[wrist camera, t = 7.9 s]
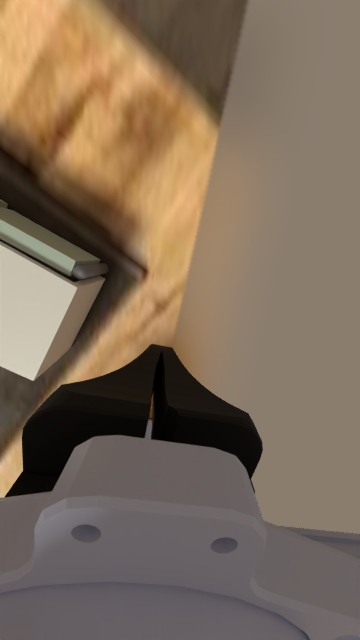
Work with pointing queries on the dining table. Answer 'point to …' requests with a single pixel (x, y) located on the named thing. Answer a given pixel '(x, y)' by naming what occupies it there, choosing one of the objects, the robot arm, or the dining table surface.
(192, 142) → the dining table surface
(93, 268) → the door
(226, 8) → the dining table surface
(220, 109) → the dining table surface
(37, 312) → the cabinet
